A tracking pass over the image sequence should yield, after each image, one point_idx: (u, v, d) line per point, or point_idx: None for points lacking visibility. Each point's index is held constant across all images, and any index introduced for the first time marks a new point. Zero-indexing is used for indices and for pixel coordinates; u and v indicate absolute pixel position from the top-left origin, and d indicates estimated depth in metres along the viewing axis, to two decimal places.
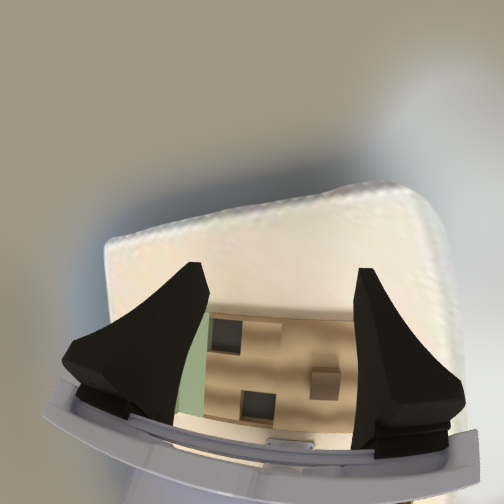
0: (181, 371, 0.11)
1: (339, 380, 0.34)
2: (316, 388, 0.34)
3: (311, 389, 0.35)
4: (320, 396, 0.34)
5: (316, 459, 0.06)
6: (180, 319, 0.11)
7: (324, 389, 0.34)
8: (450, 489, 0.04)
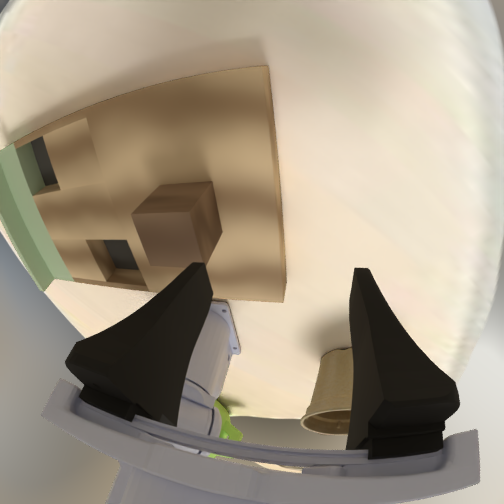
0: (185, 372, 0.11)
1: (191, 227, 0.16)
2: (153, 245, 0.17)
3: (145, 247, 0.17)
4: (166, 260, 0.18)
5: (316, 459, 0.06)
6: (184, 320, 0.11)
7: (168, 246, 0.17)
8: (450, 489, 0.04)
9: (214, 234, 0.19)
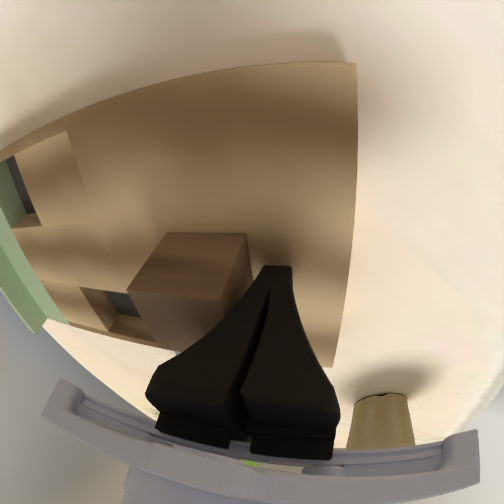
0: None
1: (222, 318, 0.10)
2: (162, 328, 0.12)
3: (150, 328, 0.12)
4: (183, 346, 0.12)
5: (316, 459, 0.06)
6: None
7: (184, 333, 0.11)
8: (450, 489, 0.04)
9: None
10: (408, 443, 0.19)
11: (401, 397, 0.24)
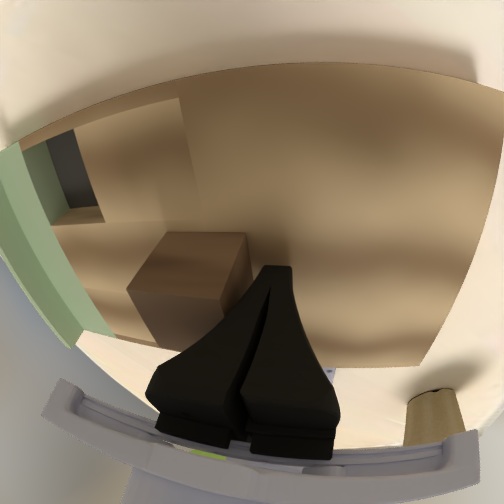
0: None
1: (221, 318, 0.10)
2: (162, 328, 0.12)
3: (150, 328, 0.12)
4: (182, 346, 0.12)
5: (316, 459, 0.06)
6: None
7: (184, 332, 0.11)
8: (450, 489, 0.04)
9: None
10: None
11: (452, 392, 0.22)
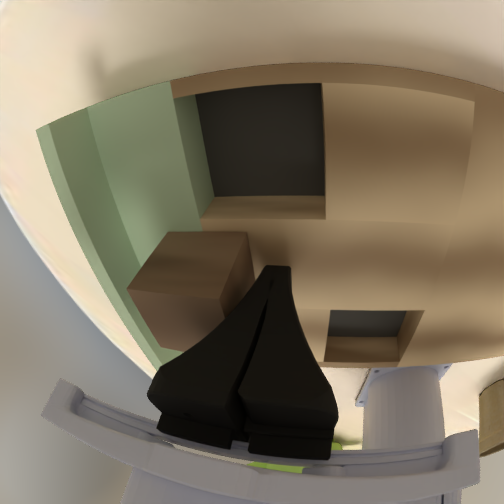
0: None
1: (222, 317, 0.10)
2: (163, 328, 0.12)
3: (151, 328, 0.12)
4: (183, 346, 0.12)
5: (316, 459, 0.06)
6: None
7: (185, 332, 0.11)
8: (450, 489, 0.04)
9: None
10: None
11: None
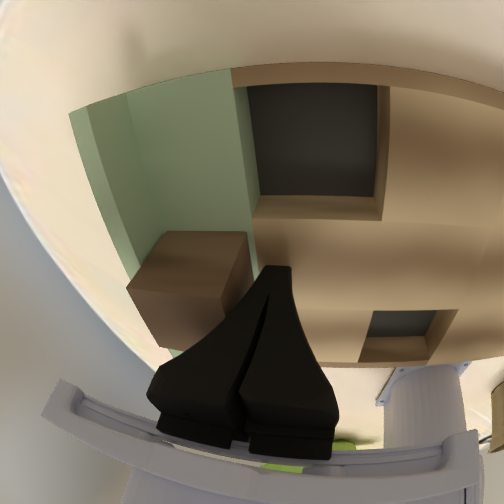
0: None
1: (222, 316, 0.10)
2: (162, 327, 0.12)
3: (150, 327, 0.12)
4: (183, 345, 0.12)
5: (316, 459, 0.06)
6: None
7: (184, 332, 0.11)
8: (450, 489, 0.04)
9: None
10: None
11: None
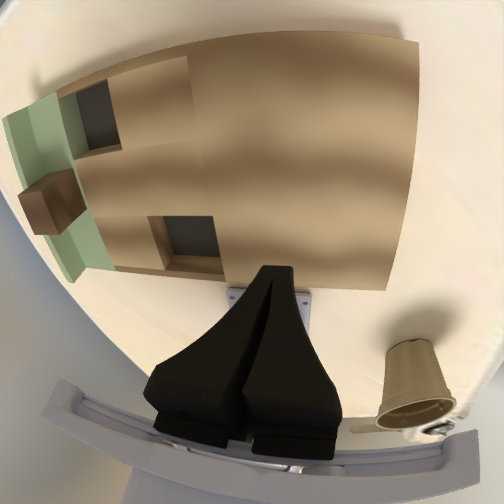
0: None
1: (44, 202, 0.17)
2: (31, 217, 0.18)
3: (28, 219, 0.19)
4: (40, 229, 0.19)
5: (316, 459, 0.06)
6: (264, 328, 0.11)
7: (38, 218, 0.18)
8: (450, 489, 0.04)
9: (74, 209, 0.20)
10: (442, 382, 0.22)
11: (429, 343, 0.27)
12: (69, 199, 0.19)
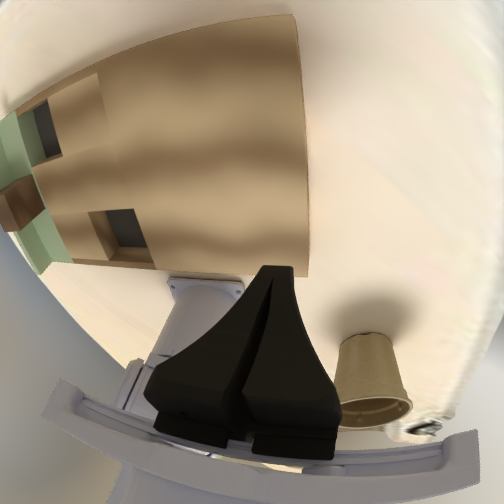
0: None
1: (7, 203, 0.18)
2: (1, 217, 0.19)
3: None
4: (7, 227, 0.20)
5: (316, 459, 0.06)
6: (264, 328, 0.11)
7: (5, 217, 0.19)
8: (450, 489, 0.04)
9: (33, 209, 0.21)
10: (394, 379, 0.22)
11: (385, 337, 0.27)
12: (29, 200, 0.21)
